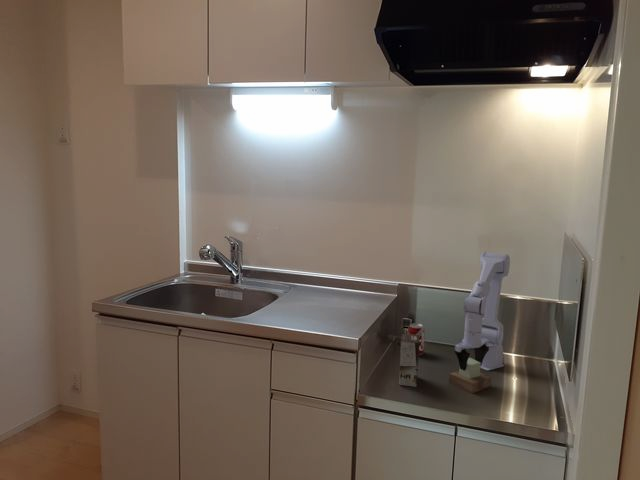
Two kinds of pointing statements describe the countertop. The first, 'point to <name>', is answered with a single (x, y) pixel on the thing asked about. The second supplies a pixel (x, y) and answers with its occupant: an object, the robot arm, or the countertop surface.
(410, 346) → the coffee box
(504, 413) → the countertop surface
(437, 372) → the countertop surface
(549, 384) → the countertop surface
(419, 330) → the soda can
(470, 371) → the sage cube
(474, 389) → the walnut base
